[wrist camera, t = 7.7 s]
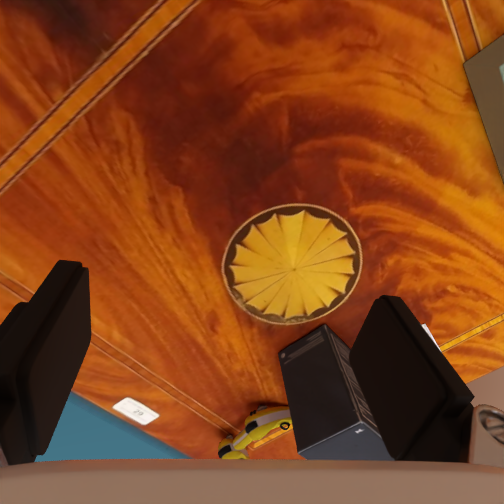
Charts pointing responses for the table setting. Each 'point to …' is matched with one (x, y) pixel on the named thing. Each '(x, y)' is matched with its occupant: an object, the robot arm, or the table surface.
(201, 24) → the table surface
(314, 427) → the small box
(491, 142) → the panel
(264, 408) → the yellow hair dryer
